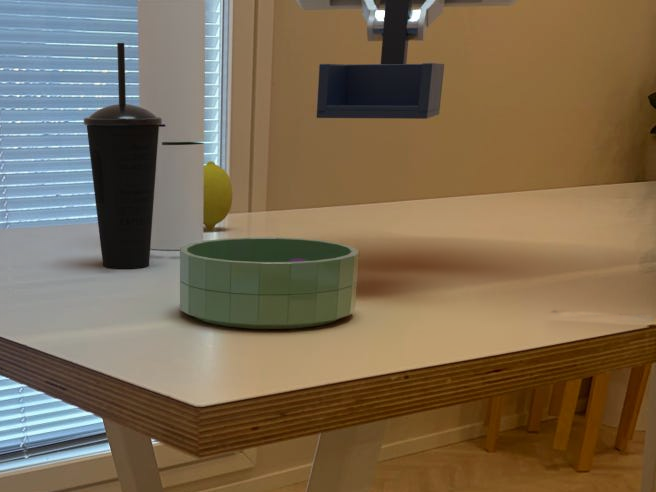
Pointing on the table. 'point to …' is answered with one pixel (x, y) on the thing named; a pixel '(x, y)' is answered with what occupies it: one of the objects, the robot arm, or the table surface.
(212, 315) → the bowl
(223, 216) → the lemon
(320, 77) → the scoop
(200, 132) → the cylindrical container
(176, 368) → the table surface
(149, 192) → the drinking cup
